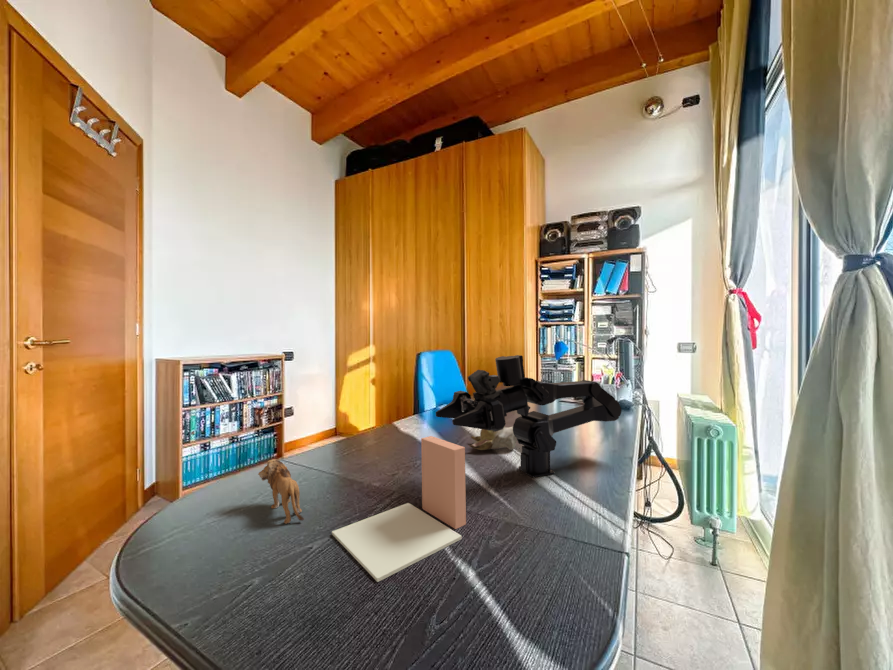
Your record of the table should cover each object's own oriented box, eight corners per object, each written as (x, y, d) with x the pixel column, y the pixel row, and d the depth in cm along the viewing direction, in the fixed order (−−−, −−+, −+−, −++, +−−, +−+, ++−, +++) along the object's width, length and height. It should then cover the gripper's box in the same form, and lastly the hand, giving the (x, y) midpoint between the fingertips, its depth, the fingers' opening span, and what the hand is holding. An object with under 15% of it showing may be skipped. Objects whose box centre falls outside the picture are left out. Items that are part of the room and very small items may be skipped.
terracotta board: (432, 504, 73) (431, 435, 73) (465, 524, 65) (464, 447, 65) (422, 508, 71) (421, 438, 71) (455, 529, 63) (454, 450, 63)
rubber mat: (408, 505, 73) (408, 502, 73) (461, 538, 60) (461, 535, 60) (331, 534, 62) (331, 531, 62) (377, 582, 50) (377, 578, 50)
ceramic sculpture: (519, 424, 102) (467, 426, 104) (522, 454, 102) (469, 456, 103) (517, 416, 112) (469, 418, 114) (519, 443, 112) (471, 445, 114)
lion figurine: (256, 504, 74) (255, 461, 74) (281, 495, 78) (281, 454, 78) (290, 528, 64) (289, 478, 64) (317, 517, 68) (317, 470, 68)
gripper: (478, 366, 93) (423, 378, 87) (521, 370, 76) (456, 387, 70) (485, 407, 94) (430, 423, 87) (529, 421, 77) (465, 442, 70)
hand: (443, 418), depth 79 cm, fingers open, 9 cm apart
